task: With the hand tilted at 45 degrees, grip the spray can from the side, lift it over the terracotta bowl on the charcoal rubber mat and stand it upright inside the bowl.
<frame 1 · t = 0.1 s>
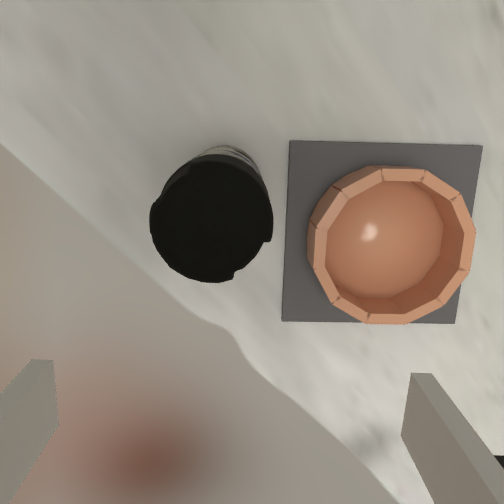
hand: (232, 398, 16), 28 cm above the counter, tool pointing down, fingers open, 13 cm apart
spray can: (225, 181, 42), on the counter
bowl: (377, 237, 43), resting on mat
mat: (375, 236, 43), on the counter
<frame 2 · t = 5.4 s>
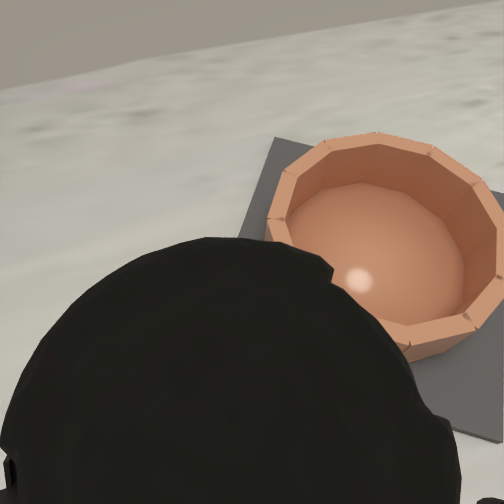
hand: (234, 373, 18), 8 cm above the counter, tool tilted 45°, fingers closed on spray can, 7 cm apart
spray can: (230, 478, 24), on the counter, touching gripper
bowl: (368, 262, 30), resting on mat
mat: (366, 266, 30), on the counter
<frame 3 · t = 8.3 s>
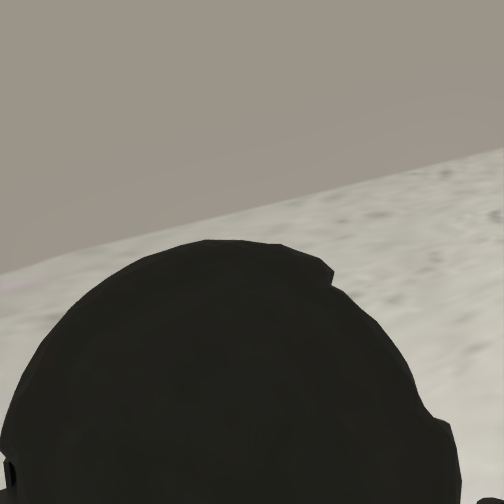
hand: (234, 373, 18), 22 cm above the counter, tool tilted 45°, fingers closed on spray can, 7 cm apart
spray can: (230, 480, 24), point 14 cm above the counter, touching gripper
when the fingers open (11 cm above the counter, at t = 11.2 s): spray can drops 1 cm, resting on bowl.
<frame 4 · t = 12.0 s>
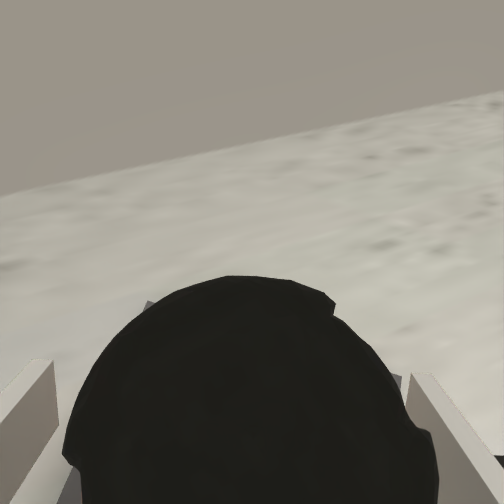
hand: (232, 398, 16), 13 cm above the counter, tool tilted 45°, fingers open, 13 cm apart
spray can: (231, 481, 25), point 1 cm above the counter, touching bowl
mat: (230, 480, 26), on the counter
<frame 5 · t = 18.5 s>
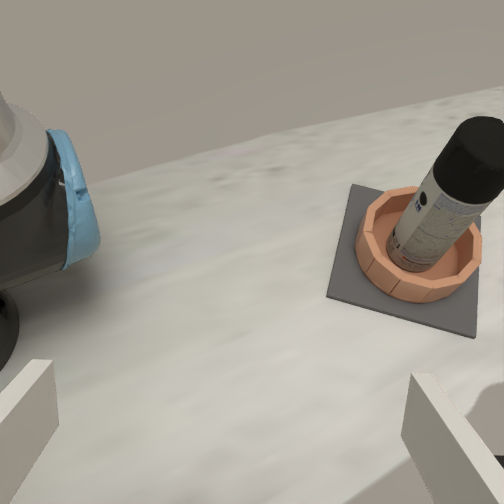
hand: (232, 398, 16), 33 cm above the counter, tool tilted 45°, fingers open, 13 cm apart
spray can: (410, 251, 56), point 1 cm above the counter, touching bowl
bowl: (408, 253, 57), resting on mat
mat: (407, 255, 57), on the counter
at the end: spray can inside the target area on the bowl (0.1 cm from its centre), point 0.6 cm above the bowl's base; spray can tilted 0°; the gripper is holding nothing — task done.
